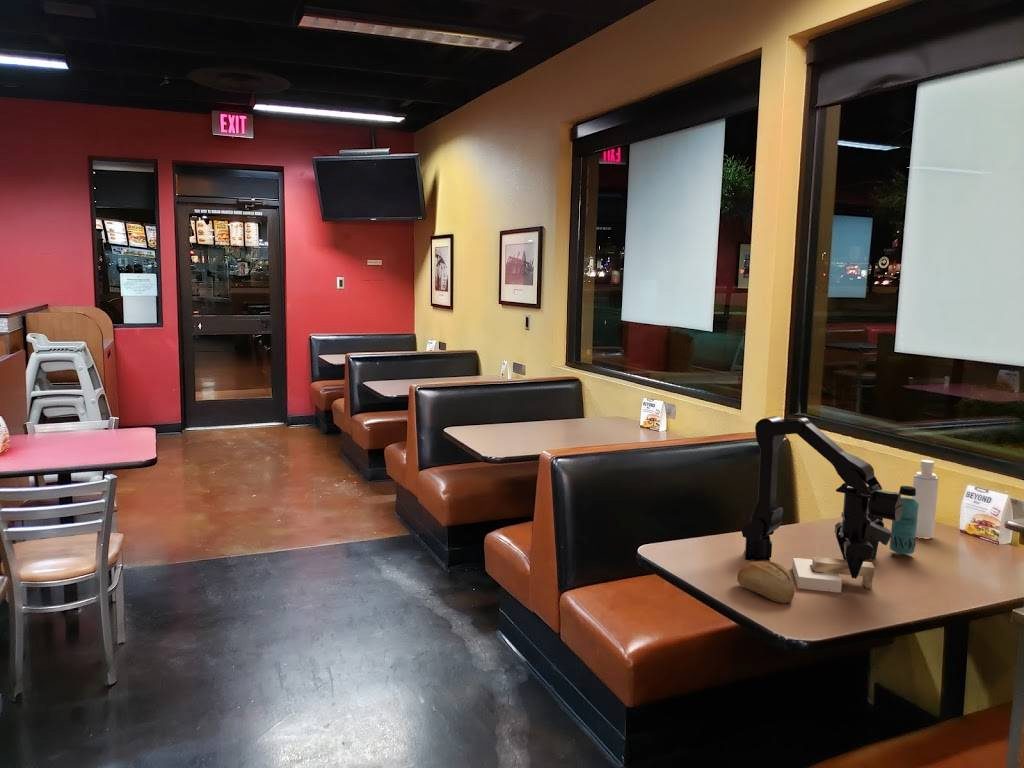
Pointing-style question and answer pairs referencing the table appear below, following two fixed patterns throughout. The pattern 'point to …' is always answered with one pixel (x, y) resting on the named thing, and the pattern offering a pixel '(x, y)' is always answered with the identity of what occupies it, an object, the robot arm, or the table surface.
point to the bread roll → (767, 580)
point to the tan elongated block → (843, 568)
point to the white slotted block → (814, 577)
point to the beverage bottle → (905, 524)
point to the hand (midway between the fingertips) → (850, 571)
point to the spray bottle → (926, 498)
